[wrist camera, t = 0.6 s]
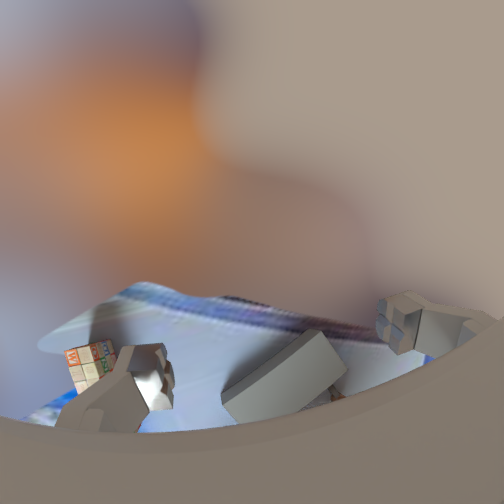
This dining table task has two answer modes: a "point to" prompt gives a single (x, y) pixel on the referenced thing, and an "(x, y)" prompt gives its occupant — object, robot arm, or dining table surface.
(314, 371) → the shelf
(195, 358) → the dining table surface
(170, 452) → the robot arm
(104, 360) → the stack of blocks
